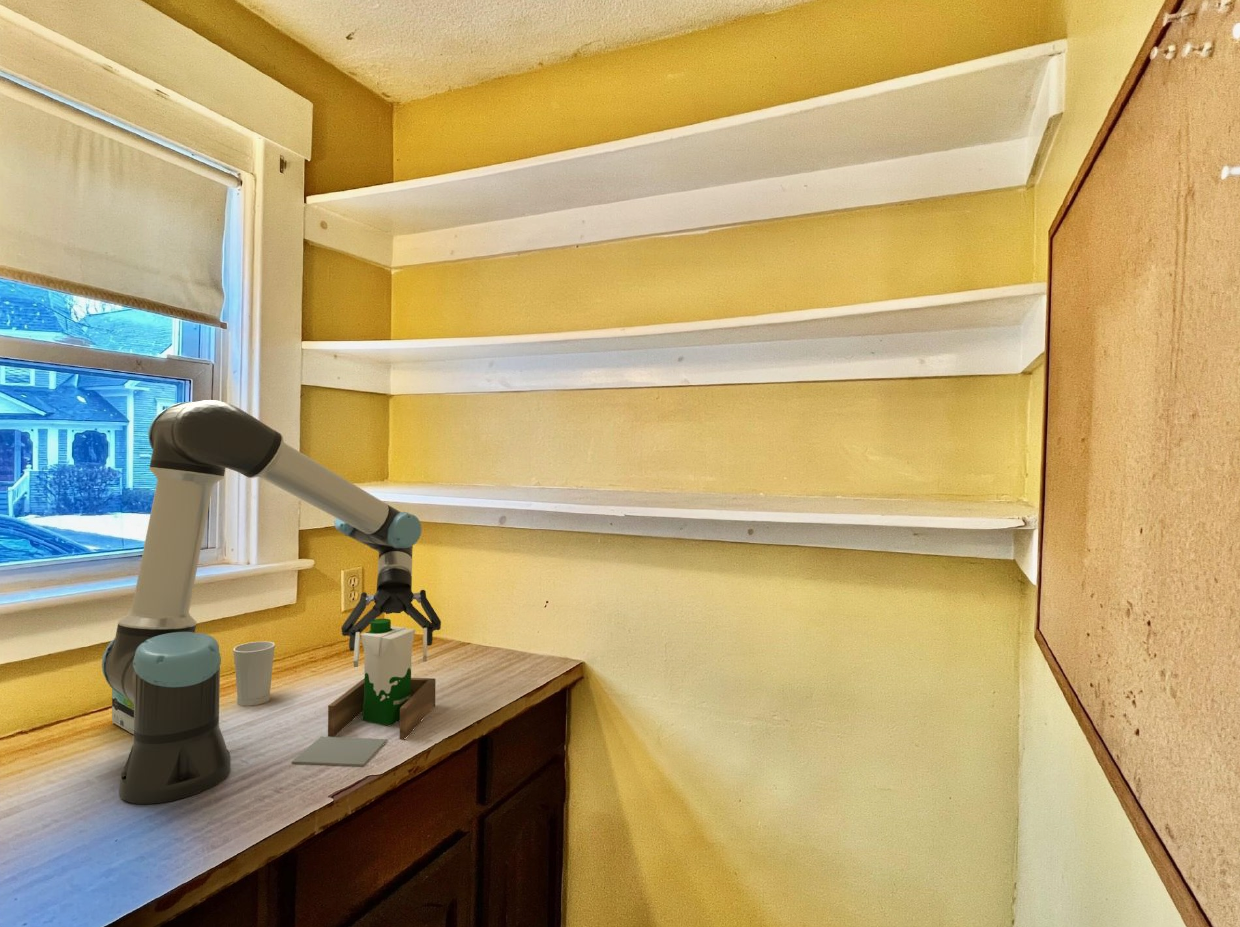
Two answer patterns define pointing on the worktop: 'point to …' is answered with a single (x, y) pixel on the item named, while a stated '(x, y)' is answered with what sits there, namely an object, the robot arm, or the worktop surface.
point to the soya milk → (386, 671)
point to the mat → (340, 751)
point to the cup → (253, 672)
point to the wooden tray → (410, 712)
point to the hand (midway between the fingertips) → (390, 661)
